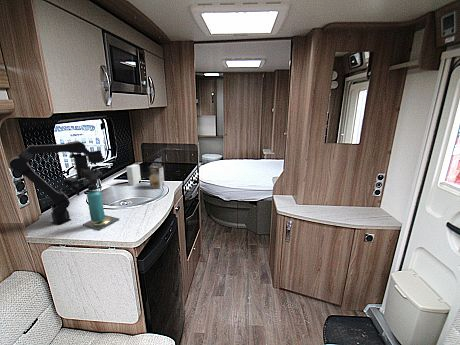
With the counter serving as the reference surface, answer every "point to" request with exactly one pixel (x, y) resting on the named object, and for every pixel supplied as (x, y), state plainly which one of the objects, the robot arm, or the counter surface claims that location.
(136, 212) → the counter surface
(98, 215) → the beverage bottle
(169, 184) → the counter surface
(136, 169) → the skincare box
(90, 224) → the coupling plate
